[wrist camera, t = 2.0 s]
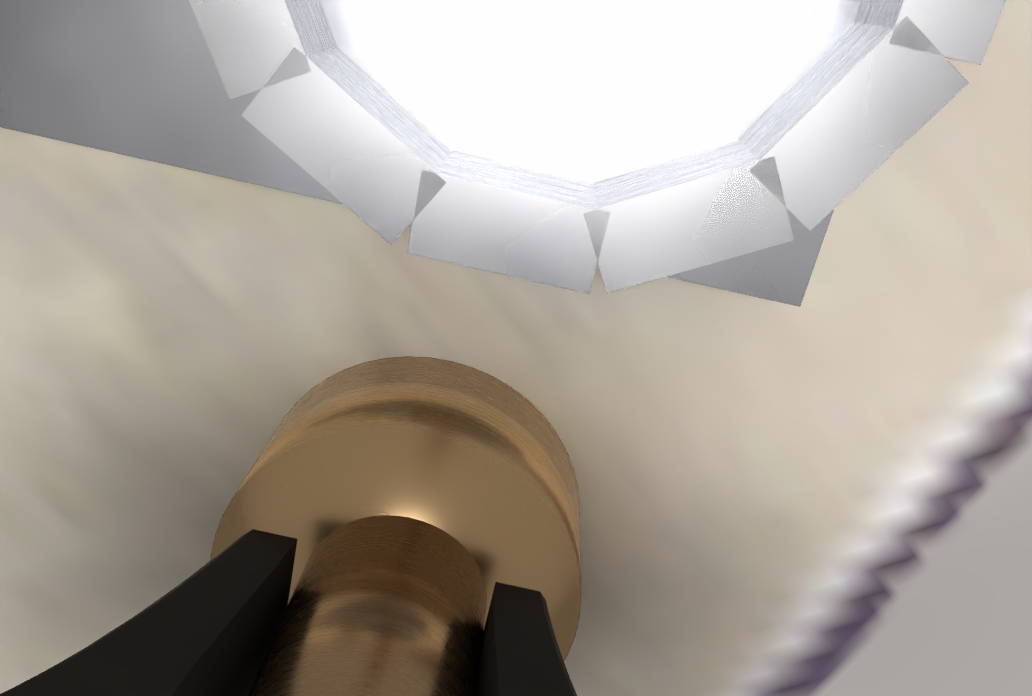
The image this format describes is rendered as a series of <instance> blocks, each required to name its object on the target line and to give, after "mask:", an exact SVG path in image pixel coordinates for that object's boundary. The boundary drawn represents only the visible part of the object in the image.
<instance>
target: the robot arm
mask: <svg viewBox="0 0 1032 696" xmlns="http://www.w3.org/2000/svg"><path fill="white" fill-rule="evenodd" d="M296 546H297V539H296V538H292V537H287V536H282V535H278V534H273V533H269V532H264V531H259V530H255V529H252V530H251V531H249V532H247V533H245V534H244V535H243V536H241V537H240V538H239V539H238V540H236V541H235V542H234V543H233V544H231V545H230V546H229V547H228V548H226V549H225V550H224V551H223V552H221V553H220V554H219V555H218V556H216V557H215V558H214V559H212V560H211V561H210V562H209V563H207V564H206V565H205V566H203V567H202V568H201V569H200V570H198V571H197V572H196V573H194V574H193V575H192V576H190V577H189V578H188V579H186V580H185V581H184V582H182V583H181V584H180V585H178V586H177V587H175V588H174V589H173V590H171V591H170V592H168V593H167V594H166V595H164V596H163V597H161V598H160V599H159V600H157V601H156V602H154V603H153V604H152V605H150V606H149V607H148V608H146V609H145V610H143V611H142V612H140V613H139V614H137V615H136V616H134V617H133V618H131V619H130V620H128V621H127V622H125V623H124V624H122V625H120V626H119V627H117V628H116V629H114V630H113V631H111V632H109V633H108V634H106V635H105V636H103V637H102V638H100V639H99V640H97V641H95V642H94V643H92V644H91V645H89V646H88V647H86V648H84V649H83V650H81V651H79V652H78V653H76V654H74V655H72V656H71V657H69V658H67V659H66V660H64V661H62V662H60V663H59V664H57V665H55V666H53V667H51V668H50V669H48V670H46V671H44V672H42V673H40V674H39V675H37V676H35V677H33V678H31V679H29V680H27V681H25V682H23V683H21V684H20V685H18V686H16V687H14V688H12V689H10V690H8V691H6V692H4V693H2V694H0V696H248V693H249V691H250V689H251V687H252V684H253V682H254V680H255V678H256V675H257V673H258V671H259V669H260V667H261V664H262V662H263V660H264V658H265V655H266V653H267V651H268V649H269V646H270V644H271V642H272V640H273V637H274V635H275V633H276V631H277V628H278V626H279V624H280V622H281V619H282V617H283V615H284V613H285V610H286V608H287V606H288V600H289V593H290V586H291V580H292V573H293V566H294V560H295V553H296ZM475 696H577V694H576V692H575V690H574V687H573V685H572V682H571V680H570V677H569V675H568V672H567V669H566V666H565V664H564V661H563V658H562V655H561V652H560V649H559V646H558V643H557V640H556V637H555V634H554V630H553V627H552V623H551V620H550V616H549V612H548V608H547V603H546V600H545V598H544V597H543V595H542V593H541V592H540V591H536V590H531V589H527V588H522V587H518V586H513V585H508V584H504V583H499V582H495V586H494V590H493V594H492V599H491V603H490V607H489V611H488V615H487V619H486V623H485V627H484V631H483V638H482V645H481V653H480V660H479V667H478V675H477V683H476V694H475Z"/></svg>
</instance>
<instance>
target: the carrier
mask: <svg viewBox="0 0 1032 696" xmlns="http://www.w3.org/2000/svg"><path fill="white" fill-rule="evenodd" d="M1005 1H1006V0H0V127H2V128H7V129H11V130H16V131H20V132H25V133H29V134H33V135H38V136H42V137H47V138H51V139H56V140H60V141H65V142H69V143H74V144H78V145H82V146H87V147H91V148H96V149H100V150H105V151H109V152H114V153H118V154H122V155H127V156H131V157H136V158H140V159H145V160H149V161H154V162H158V163H163V164H167V165H171V166H176V167H180V168H185V169H189V170H194V171H198V172H203V173H207V174H211V175H216V176H220V177H225V178H229V179H234V180H238V181H243V182H247V183H252V184H256V185H260V186H265V187H269V188H274V189H278V190H283V191H287V192H292V193H296V194H301V195H305V196H309V197H314V198H318V199H323V200H327V201H332V202H336V203H341V204H344V205H346V206H347V207H348V208H349V209H350V210H351V211H352V212H354V213H355V214H356V215H357V216H358V217H359V218H361V219H362V220H363V221H364V222H365V223H366V224H368V225H369V226H370V227H371V228H372V229H373V230H374V231H376V232H377V233H378V234H379V235H380V236H381V237H383V238H384V239H385V240H386V241H387V242H388V243H389V244H391V245H392V244H393V243H394V242H395V240H396V239H397V238H398V237H399V236H400V235H401V234H402V233H403V231H404V230H405V229H406V228H407V227H408V226H409V225H410V224H411V222H412V221H413V223H412V228H411V234H410V240H409V245H408V251H407V253H409V254H413V255H418V256H422V257H427V258H431V259H436V260H440V261H445V262H449V263H454V264H458V265H463V266H467V267H472V268H476V269H480V270H485V271H489V272H494V273H498V274H503V275H507V276H512V277H516V278H521V279H525V280H530V281H534V282H539V283H543V284H547V285H552V286H556V287H561V288H565V289H570V290H574V291H579V292H583V293H588V294H590V291H591V287H592V283H593V279H594V275H595V271H596V267H597V263H598V265H599V268H600V272H601V275H602V278H603V282H604V285H605V288H606V291H607V293H610V292H614V291H617V290H621V289H624V288H628V287H631V286H635V285H638V284H642V283H645V282H649V281H653V280H656V279H660V278H663V277H670V278H674V279H679V280H683V281H688V282H692V283H697V284H701V285H706V286H710V287H714V288H719V289H723V290H728V291H732V292H737V293H741V294H746V295H750V296H755V297H759V298H763V299H768V300H772V301H777V302H781V303H786V304H790V305H795V306H799V307H800V305H801V303H802V300H803V297H804V294H805V291H806V288H807V285H808V282H809V280H810V277H811V274H812V271H813V268H814V265H815V262H816V259H817V257H818V254H819V251H820V248H821V245H822V242H823V239H824V236H825V233H826V231H827V228H828V225H829V222H830V219H831V216H832V213H833V210H834V208H835V207H836V206H837V205H838V204H840V203H841V202H842V201H843V200H844V199H845V198H846V197H847V196H848V195H849V194H850V193H851V192H852V191H853V190H855V189H856V188H857V187H858V186H859V185H860V184H861V183H862V182H863V181H864V180H865V179H866V178H867V177H868V176H870V175H871V174H872V173H873V172H874V171H875V170H876V169H877V168H878V167H879V166H880V165H881V164H882V163H883V162H885V161H886V160H887V159H888V158H889V157H890V156H891V155H892V154H893V153H894V152H895V151H896V150H897V149H898V148H899V147H901V146H902V145H903V144H904V143H905V142H906V141H907V140H908V139H909V138H910V137H911V136H912V135H913V134H914V133H916V132H917V131H918V130H919V129H920V128H921V127H922V126H923V125H924V124H925V123H926V122H927V121H928V120H929V119H931V118H932V117H933V116H934V115H935V114H936V113H937V112H938V111H939V110H940V109H941V108H942V107H943V106H944V105H946V104H947V103H948V102H949V101H950V100H951V99H952V98H953V97H954V96H955V95H956V94H957V93H958V92H959V91H961V90H962V89H963V88H964V87H965V86H966V85H967V84H968V83H969V82H968V81H967V80H966V79H965V78H964V77H963V76H962V75H961V74H960V73H959V72H958V71H957V69H956V68H955V67H954V66H953V65H952V64H951V63H950V62H949V61H948V60H947V59H946V58H949V59H954V60H959V61H964V62H969V63H974V64H979V65H981V63H982V61H983V58H984V56H985V53H986V50H987V48H988V45H989V43H990V40H991V37H992V35H993V32H994V29H995V27H996V24H997V22H998V19H999V16H1000V14H1001V11H1002V9H1003V6H1004V3H1005Z"/></svg>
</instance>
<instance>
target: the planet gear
mask: <svg viewBox="0 0 1032 696" xmlns="http://www.w3.org/2000/svg"><path fill="white" fill-rule="evenodd" d="M252 529H255V530H259V531H264V532H269V533H273V534H278V535H282V536H287V537H292V538H296V539H297V546H296V553H295V560H294V566H293V573H292V580H291V586H290V593H289V600H288V606H287V608H286V610H285V613H284V615H283V617H282V619H281V622H280V624H279V626H278V628H277V631H276V633H275V635H274V637H273V640H272V642H271V644H270V646H269V649H268V651H267V653H266V655H265V658H264V660H263V662H262V664H261V667H260V669H259V671H258V673H257V675H256V678H255V680H254V682H253V684H252V687H251V689H250V691H249V693H248V696H475V694H476V683H477V675H478V667H479V660H480V653H481V645H482V638H483V631H484V627H485V623H486V619H487V615H488V611H489V607H490V603H491V599H492V594H493V590H494V586H495V582H499V583H504V584H508V585H513V586H518V587H522V588H527V589H531V590H536V591H540V592H541V593H542V595H543V597H544V598H545V600H546V603H547V608H548V612H549V616H550V620H551V623H552V627H553V630H554V634H555V637H556V640H557V643H558V646H559V649H560V652H561V655H562V658H563V661H564V660H565V658H566V657H567V655H568V653H569V650H570V648H571V645H572V643H573V640H574V638H575V635H576V630H577V626H578V621H579V617H580V603H581V575H580V532H579V500H578V488H577V482H576V478H575V474H574V470H573V466H572V463H571V461H570V458H569V456H568V453H567V451H566V449H565V447H564V445H563V443H562V442H561V440H560V438H559V436H558V435H557V433H556V431H555V430H554V429H553V427H552V426H551V425H550V423H549V422H548V421H547V419H546V418H545V417H544V416H543V415H542V414H541V413H540V412H539V411H538V410H537V409H536V408H535V407H534V406H533V405H532V404H531V403H530V402H529V401H528V400H527V399H526V398H525V397H523V396H522V395H521V394H519V393H518V392H517V391H516V390H514V389H513V388H512V387H510V386H508V385H507V384H505V383H503V382H501V381H500V380H498V379H496V378H495V377H493V376H491V375H488V374H486V373H484V372H482V371H479V370H477V369H475V368H472V367H469V366H466V365H462V364H459V363H456V362H452V361H447V360H441V359H435V358H429V357H409V356H407V357H394V358H384V359H379V360H374V361H370V362H365V363H362V364H359V365H356V366H353V367H350V368H348V369H345V370H343V371H341V372H339V373H337V374H335V375H333V376H331V377H329V378H327V379H326V380H324V381H323V382H321V383H320V384H318V385H317V386H315V387H314V388H313V389H311V390H310V391H309V392H308V393H307V394H306V395H305V396H304V397H302V398H301V399H300V400H299V401H298V402H297V403H296V404H295V406H294V407H293V408H292V409H291V411H290V412H289V413H288V414H287V415H286V417H285V418H284V420H283V421H282V423H281V424H280V426H279V427H278V429H277V430H276V432H275V434H274V435H273V437H272V438H271V440H270V441H269V443H268V444H267V446H266V448H265V449H264V451H263V452H262V454H261V455H260V457H259V458H258V460H257V462H256V463H255V465H254V466H253V468H252V469H251V471H250V472H249V474H248V475H247V477H246V479H245V480H244V482H243V483H242V485H241V486H240V488H239V489H238V491H237V493H236V494H235V496H234V497H233V499H232V501H231V502H230V504H229V506H228V507H227V509H226V511H225V513H224V514H223V516H222V519H221V521H220V524H219V527H218V529H217V532H216V534H215V538H214V543H213V548H212V553H211V560H212V559H214V558H215V557H216V556H218V555H219V554H220V553H221V552H223V551H224V550H225V549H226V548H228V547H229V546H230V545H231V544H233V543H234V542H235V541H236V540H238V539H239V538H240V537H241V536H243V535H244V534H245V533H247V532H249V531H251V530H252Z"/></svg>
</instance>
